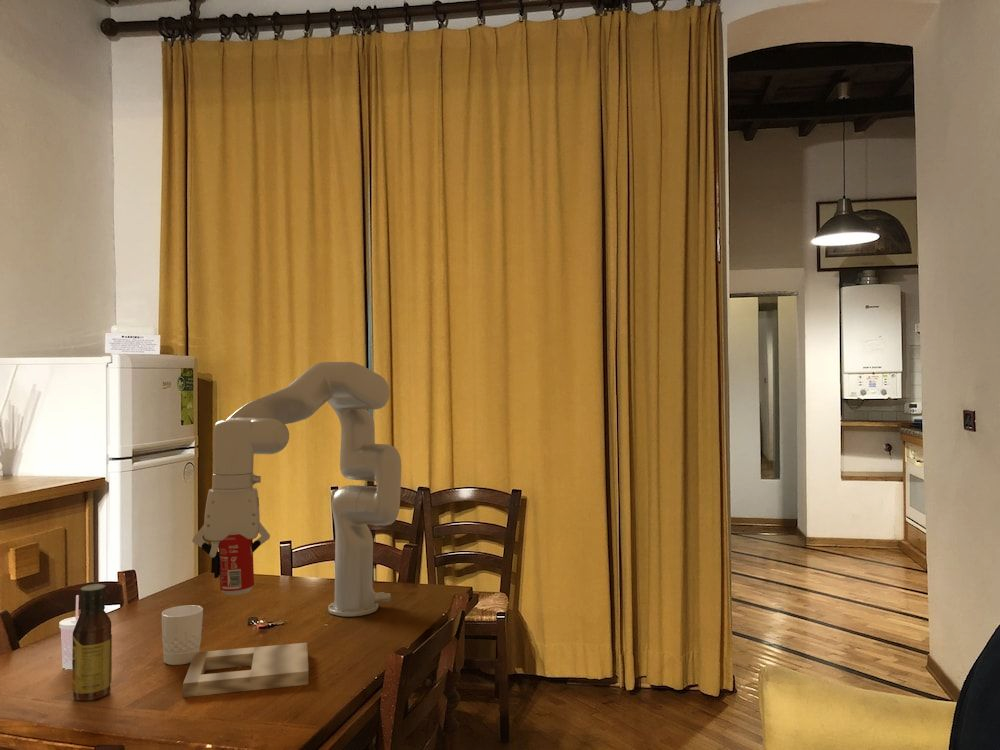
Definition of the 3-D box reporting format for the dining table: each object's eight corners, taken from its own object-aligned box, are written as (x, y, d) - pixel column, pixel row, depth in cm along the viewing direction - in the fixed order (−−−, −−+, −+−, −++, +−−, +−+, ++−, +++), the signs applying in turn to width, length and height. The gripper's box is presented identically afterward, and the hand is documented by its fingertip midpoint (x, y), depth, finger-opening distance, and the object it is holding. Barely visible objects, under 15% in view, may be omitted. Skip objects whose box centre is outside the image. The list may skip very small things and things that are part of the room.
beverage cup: (96, 665, 143) (98, 595, 143) (62, 673, 138) (63, 601, 139) (88, 657, 147) (90, 589, 147) (54, 664, 143) (56, 595, 143)
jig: (306, 654, 150) (306, 642, 150) (308, 684, 134) (308, 671, 134) (194, 664, 143) (194, 652, 144) (182, 697, 128) (182, 683, 128)
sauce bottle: (82, 689, 131) (85, 581, 132) (117, 688, 132) (119, 580, 132) (63, 704, 125) (66, 591, 125) (100, 703, 125) (103, 590, 126)
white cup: (210, 655, 149) (211, 607, 149) (182, 668, 141) (183, 618, 142) (180, 650, 151) (181, 603, 152) (151, 663, 144) (152, 614, 144)
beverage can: (259, 586, 142) (257, 527, 142) (245, 596, 136) (243, 533, 136) (229, 587, 143) (227, 527, 143) (214, 596, 136) (212, 534, 136)
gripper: (278, 479, 145) (276, 568, 145) (189, 481, 141) (187, 573, 140) (277, 483, 138) (275, 577, 138) (183, 485, 133) (181, 583, 133)
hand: (231, 574), depth 139 cm, fingers closed on beverage can, 4 cm apart
